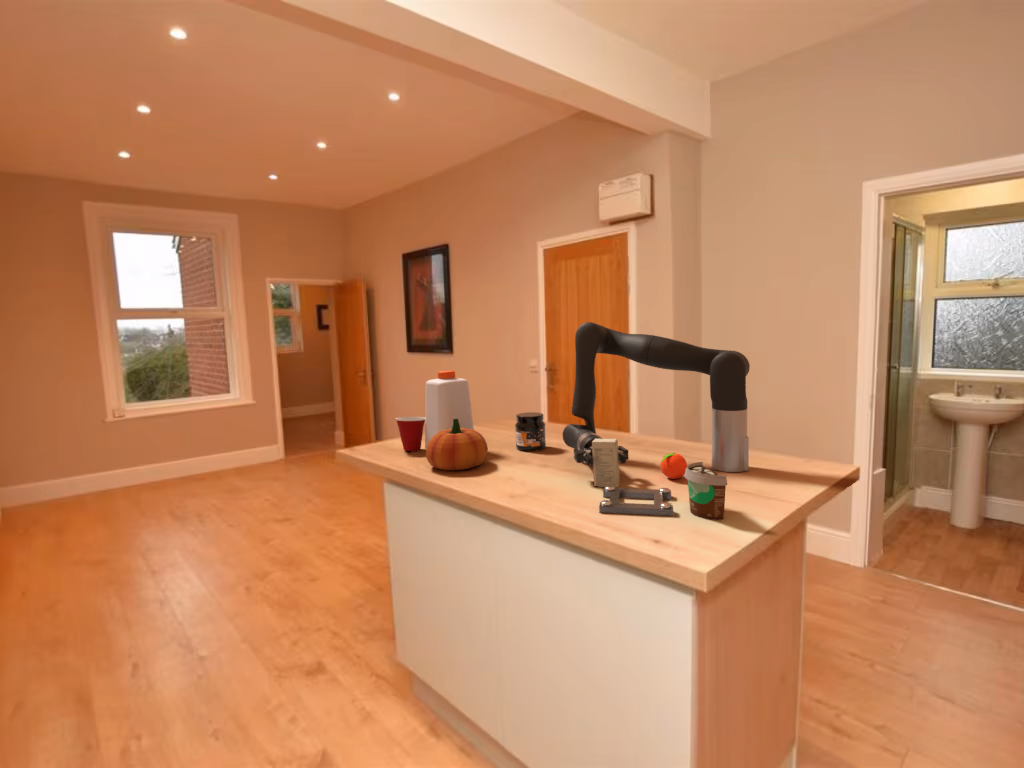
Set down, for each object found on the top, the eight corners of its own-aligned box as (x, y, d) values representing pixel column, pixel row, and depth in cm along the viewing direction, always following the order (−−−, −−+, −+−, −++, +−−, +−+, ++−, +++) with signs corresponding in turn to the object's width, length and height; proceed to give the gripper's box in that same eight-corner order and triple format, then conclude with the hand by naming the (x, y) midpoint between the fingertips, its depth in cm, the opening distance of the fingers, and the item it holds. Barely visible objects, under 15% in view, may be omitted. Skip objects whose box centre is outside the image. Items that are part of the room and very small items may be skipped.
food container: (675, 504, 124) (675, 462, 123) (701, 503, 124) (701, 461, 123) (698, 524, 112) (698, 477, 111) (727, 522, 112) (727, 475, 111)
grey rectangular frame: (670, 496, 130) (670, 487, 130) (673, 516, 117) (673, 506, 116) (604, 493, 134) (604, 485, 134) (599, 512, 121) (599, 503, 120)
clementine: (670, 484, 140) (670, 457, 139) (652, 478, 146) (651, 452, 145) (692, 479, 143) (692, 453, 142) (674, 473, 149) (673, 448, 148)
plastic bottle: (456, 443, 199) (452, 368, 196) (480, 449, 188) (476, 370, 185) (420, 450, 190) (416, 372, 187) (444, 457, 178) (439, 374, 175)
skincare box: (619, 483, 142) (619, 438, 141) (617, 488, 138) (616, 441, 137) (595, 482, 144) (594, 437, 143) (592, 486, 140) (591, 441, 139)
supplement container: (513, 451, 182) (512, 417, 181) (518, 445, 193) (517, 412, 191) (544, 452, 181) (543, 416, 179) (547, 444, 191) (546, 411, 190)
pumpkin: (462, 455, 181) (460, 411, 179) (501, 464, 167) (499, 416, 165) (414, 467, 167) (411, 420, 166) (452, 478, 154) (449, 427, 152)
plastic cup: (434, 448, 193) (432, 415, 192) (413, 454, 184) (411, 420, 183) (412, 445, 199) (410, 413, 197) (390, 452, 190) (388, 418, 188)
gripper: (567, 435, 153) (580, 448, 137) (616, 432, 155) (634, 445, 139) (568, 461, 154) (581, 476, 138) (616, 458, 155) (634, 473, 139)
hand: (607, 460), depth 138 cm, fingers open, 8 cm apart
